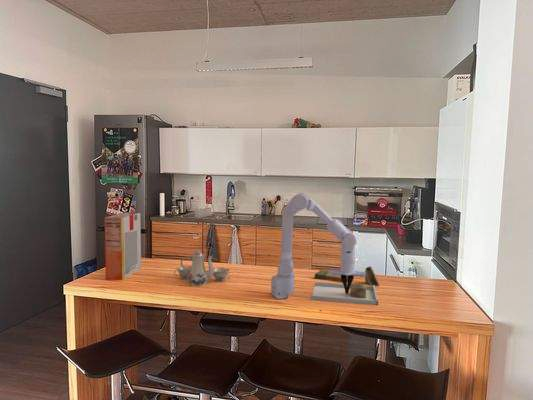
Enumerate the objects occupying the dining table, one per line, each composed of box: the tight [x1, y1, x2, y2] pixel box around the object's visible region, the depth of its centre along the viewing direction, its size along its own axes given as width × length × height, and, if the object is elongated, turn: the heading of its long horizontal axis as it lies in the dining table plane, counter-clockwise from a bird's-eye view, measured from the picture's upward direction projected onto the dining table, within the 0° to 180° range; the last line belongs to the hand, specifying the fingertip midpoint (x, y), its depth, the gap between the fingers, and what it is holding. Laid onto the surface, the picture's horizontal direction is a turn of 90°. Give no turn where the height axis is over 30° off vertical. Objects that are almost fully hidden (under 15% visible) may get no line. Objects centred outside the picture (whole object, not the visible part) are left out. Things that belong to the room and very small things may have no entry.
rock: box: [364, 265, 380, 287], centre depth 177 cm, size 11×9×10 cm
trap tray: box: [310, 281, 379, 306], centre depth 159 cm, size 26×20×4 cm
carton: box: [314, 269, 348, 283], centre depth 183 cm, size 8×16×4 cm, turn 59°
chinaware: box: [174, 249, 230, 287], centre depth 181 cm, size 28×17×17 cm, turn 85°
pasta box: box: [104, 211, 142, 281], centre depth 192 cm, size 23×8×30 cm, turn 176°
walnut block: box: [349, 282, 367, 299], centre depth 158 cm, size 6×6×4 cm
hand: (346, 292), depth 159 cm, fingers closed
